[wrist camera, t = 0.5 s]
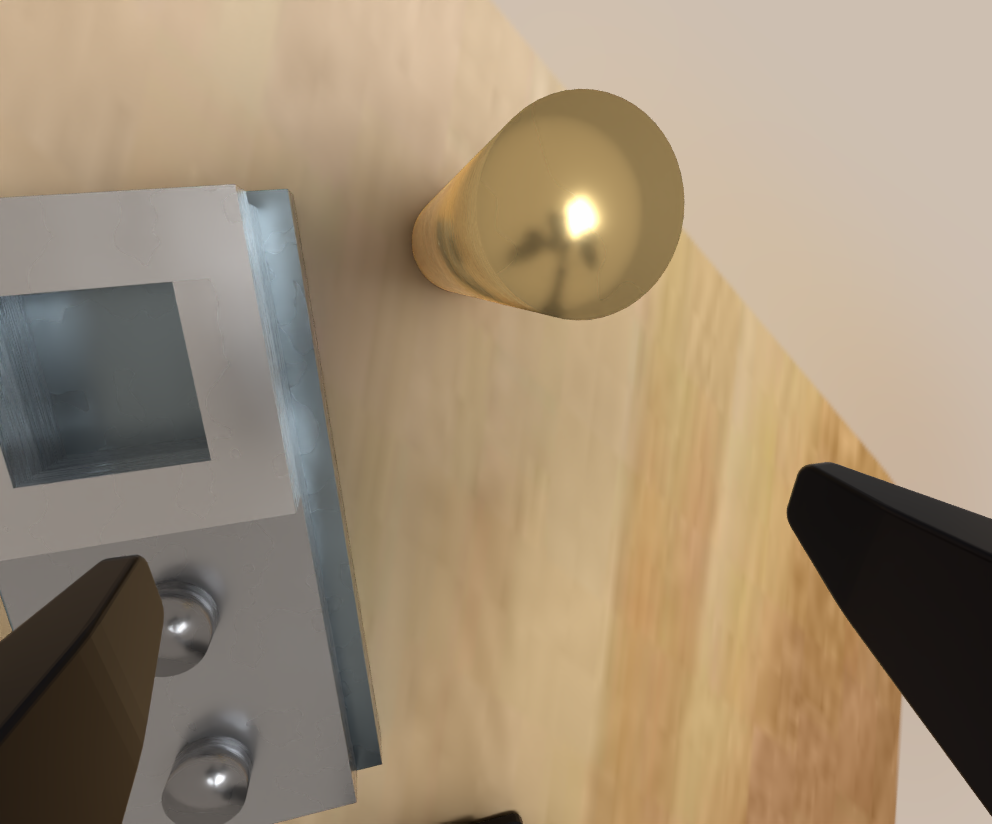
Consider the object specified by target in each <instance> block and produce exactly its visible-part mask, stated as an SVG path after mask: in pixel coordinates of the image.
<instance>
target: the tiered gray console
mask: <svg viewBox="0 0 992 824" xmlns="http://www.w3.org/2000/svg"><path fill="white" fill-rule="evenodd" d="M128 555H140V556H142V557H144V558H145V560H146V561H147V563H148V565H149V568H150V570H151V573H152V576H153V578H154V581H155V584H156V586H157V589H158V592H159V594H160V597H161V600H162V603H163V608H164V623H163V630H162V636H161V642H160V648H159V654H158V661H157V667H156V673H155V679H154V685H153V692H152V698H151V704H150V710H149V716H148V723H147V728H146V734H145V739H144V744H143V749H142V753H141V757H140V761H139V765H138V769H137V772H136V776H135V779H134V783H133V786H132V790H131V793H130V797H129V801H128V804H127V808H126V811H125V815H124V818H123V822H122V824H274V823H278V822H282V821H286V820H290V819H294V818H298V817H301V816H305V815H309V814H313V813H317V812H321V811H325V810H329V809H333V808H337V807H341V806H344V805H348V804H352V803H356V802H357V770H360V769H364V768H368V767H373V766H377V765H381V764H382V753H381V734H380V728H379V722H378V716H377V709H376V703H375V697H374V691H373V685H372V679H371V672H370V666H369V660H368V654H367V648H366V642H365V635H364V629H363V623H362V617H361V611H360V605H359V598H358V592H357V586H356V580H355V574H354V568H353V561H352V555H351V549H350V543H349V537H348V531H347V524H346V518H345V512H344V506H343V500H342V494H341V487H340V481H339V475H338V469H337V463H336V457H335V450H334V444H333V438H332V432H331V426H330V420H329V413H328V407H327V401H326V395H325V389H324V383H323V376H322V370H321V364H320V358H319V352H318V346H317V339H316V333H315V327H314V321H313V315H312V309H311V302H310V296H309V290H308V284H307V278H306V272H305V265H304V259H303V253H302V247H301V241H300V235H299V228H298V222H297V216H296V210H295V204H294V197H293V194H292V193H291V192H290V191H289V190H288V189H278V190H261V191H244V190H243V189H241V188H240V187H238V186H237V185H235V184H231V185H213V186H196V187H179V188H162V189H144V190H127V191H110V192H93V193H75V194H58V195H41V196H23V197H6V198H0V595H1V598H2V601H3V604H4V607H5V610H6V613H7V616H8V619H9V622H10V625H11V628H12V631H14V630H15V629H16V628H17V627H19V626H20V625H21V624H22V623H24V622H25V621H26V620H27V619H29V618H30V617H31V616H32V615H34V614H35V613H36V612H37V611H39V610H40V609H41V608H42V607H44V606H45V605H46V604H47V603H49V602H50V601H51V600H52V599H54V598H55V597H56V596H57V595H59V594H60V593H61V592H62V591H63V590H65V589H66V588H67V587H68V586H70V585H71V584H72V583H73V582H75V581H76V580H77V579H78V578H80V577H81V576H82V575H83V574H85V573H86V572H87V571H88V570H90V569H91V568H92V567H93V566H95V565H96V564H97V563H99V562H100V561H102V560H104V559H107V558H113V557H121V556H128Z"/></svg>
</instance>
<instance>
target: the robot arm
mask: <svg viewBox="0 0 992 824" xmlns="http://www.w3.org/2000/svg"><path fill="white" fill-rule="evenodd" d="M787 519H788V522H789V524H790V526H791V528H792V530H793V531H794V533H795V535H796V536H797V538H798V540H799V541H800V543H801V545H802V546H803V548H804V550H805V551H806V553H807V555H808V556H809V558H810V560H811V561H812V563H813V565H814V566H815V568H816V570H817V571H818V573H819V575H820V576H821V578H822V580H823V581H824V583H825V585H826V586H827V588H828V590H829V591H830V593H831V595H832V596H833V598H834V600H835V601H836V603H837V604H838V606H839V607H840V609H841V611H842V612H843V614H844V615H845V616H846V618H847V619H848V621H849V622H850V624H851V625H852V626H853V628H854V629H855V631H856V632H857V633H858V635H859V636H860V637H861V639H862V640H863V642H864V643H865V644H866V646H867V647H868V648H869V650H870V651H871V652H872V654H873V655H874V657H875V658H876V659H877V661H878V662H879V663H880V665H881V666H882V667H883V669H884V670H885V672H886V673H887V674H888V676H889V677H890V678H891V680H892V681H893V682H894V684H895V685H896V687H897V688H898V689H899V691H900V692H901V693H902V695H903V696H904V698H905V699H906V700H907V702H908V703H909V704H910V706H911V707H912V708H913V710H914V711H915V713H916V714H917V715H918V717H919V718H920V719H921V721H922V722H923V723H924V725H925V726H926V728H927V729H928V730H929V732H930V733H931V734H932V736H933V737H934V738H935V740H936V741H937V743H938V744H939V745H940V746H941V748H942V749H943V751H944V752H945V753H946V755H947V756H948V758H949V759H950V760H951V762H952V763H953V764H954V766H955V767H956V768H957V770H958V771H959V772H960V774H961V775H962V777H963V778H964V779H965V781H966V782H967V783H968V785H969V786H970V787H971V789H972V790H973V792H974V793H975V794H976V796H977V797H978V799H979V800H980V801H981V802H982V804H983V805H984V807H985V808H986V809H987V811H988V812H989V814H990V815H991V816H992V519H991V518H987V517H985V516H982V515H979V514H976V513H974V512H971V511H968V510H965V509H962V508H959V507H957V506H954V505H951V504H948V503H945V502H942V501H940V500H937V499H934V498H931V497H928V496H926V495H923V494H920V493H917V492H914V491H911V490H908V489H906V488H903V487H900V486H897V485H894V484H892V483H889V482H886V481H883V480H880V479H877V478H875V477H872V476H869V475H866V474H863V473H861V472H858V471H855V470H852V469H849V468H846V467H844V466H841V465H838V464H835V463H831V462H824V463H816V464H809V465H806V466H804V467H802V468H801V469H800V471H799V472H798V474H797V478H796V481H795V484H794V487H793V490H792V493H791V497H790V500H789V503H788V506H787ZM163 623H164V608H163V603H162V600H161V597H160V594H159V592H158V589H157V586H156V584H155V581H154V578H153V576H152V573H151V570H150V568H149V565H148V563H147V561H146V560H145V558H144V557H142V556H140V555H128V556H121V557H113V558H107V559H104V560H102V561H100V562H99V563H97V564H96V565H95V566H93V567H92V568H91V569H90V570H88V571H87V572H86V573H85V574H83V575H82V576H81V577H80V578H78V579H77V580H76V581H75V582H73V583H72V584H71V585H70V586H68V587H67V588H66V589H65V590H63V591H62V592H61V593H60V594H59V595H57V596H56V597H55V598H54V599H52V600H51V601H50V602H49V603H47V604H46V605H45V606H44V607H42V608H41V609H40V610H39V611H37V612H36V613H35V614H34V615H32V616H31V617H30V618H29V619H27V620H26V621H25V622H24V623H22V624H21V625H20V626H19V627H17V628H16V629H15V630H14V631H12V632H11V633H10V634H9V635H7V636H6V637H5V638H4V639H3V640H1V641H0V824H122V822H123V818H124V815H125V811H126V808H127V804H128V801H129V797H130V793H131V790H132V786H133V783H134V779H135V776H136V772H137V769H138V765H139V761H140V757H141V753H142V749H143V744H144V739H145V734H146V728H147V723H148V716H149V710H150V704H151V698H152V692H153V685H154V679H155V673H156V667H157V661H158V654H159V648H160V642H161V636H162V630H163ZM476 824H523V822H522V819H521V817H520V816H519V815H518V814H509V815H506V816H502V817H498V818H495V819H491V820H487V821H484V822H480V823H476Z"/></svg>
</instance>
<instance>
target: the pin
mask: <svg viewBox="0 0 992 824" xmlns="http://www.w3.org/2000/svg"><path fill="white" fill-rule="evenodd" d="M683 217H684V189H683V183H682V177H681V172H680V169H679V165H678V162H677V159H676V157H675V154H674V152H673V150H672V147H671V145H670V144H669V142H668V141H667V139H666V137H665V135H664V134H663V132H662V131H661V130H660V129H659V127H658V126H657V125H656V123H655V122H654V121H653V120H652V119H651V118H650V117H649V116H648V115H647V114H646V113H644V112H643V111H642V110H640V109H639V108H638V107H637V106H635V105H634V104H632V103H630V102H628V101H627V100H625V99H623V98H621V97H618V96H616V95H613V94H610V93H608V92H603V91H598V90H589V89H574V90H565V91H561V92H557V93H554V94H550V95H548V96H546V97H543V98H541V99H539V100H537V101H535V102H534V103H532V104H530V105H529V106H527V107H526V108H524V109H523V110H522V111H521V112H519V113H518V114H517V115H516V116H515V117H513V118H512V119H511V120H510V121H509V122H508V123H507V124H506V125H505V127H504V128H503V129H502V130H501V131H500V132H499V133H498V134H497V135H496V136H495V137H494V138H493V139H492V140H491V141H490V142H489V143H488V144H487V145H486V146H485V147H484V148H483V149H482V150H481V151H480V152H479V153H478V154H477V155H476V156H475V157H474V158H473V159H472V160H471V161H470V162H469V163H468V164H467V165H466V166H465V167H464V168H463V169H462V170H461V171H460V172H459V173H458V174H457V175H456V176H455V177H454V178H453V179H452V180H451V181H450V182H449V183H448V184H447V185H446V186H445V187H444V188H443V189H442V190H441V191H440V192H439V193H438V194H437V195H436V196H435V197H434V198H433V199H432V200H431V201H430V202H429V203H428V204H427V205H426V206H425V208H424V209H423V210H422V211H421V213H420V214H419V216H418V218H417V220H416V222H415V225H414V228H413V232H412V250H413V255H414V258H415V261H416V263H417V265H418V267H419V269H420V270H421V272H422V273H423V275H424V276H425V277H426V278H427V279H428V280H429V281H430V282H432V283H433V284H434V285H436V286H438V287H439V288H441V289H444V290H446V291H450V292H454V293H459V294H463V295H467V296H471V297H475V298H479V299H483V300H487V301H491V302H496V303H500V304H504V305H508V306H512V307H516V308H520V309H524V310H529V311H533V312H537V313H541V314H545V315H549V316H553V317H557V318H562V319H569V320H590V319H596V318H601V317H605V316H608V315H611V314H614V313H616V312H618V311H620V310H622V309H625V308H627V307H628V306H630V305H631V304H633V303H634V302H636V301H637V300H638V299H640V298H641V297H642V296H643V295H644V294H646V293H647V292H648V291H649V290H650V289H651V288H652V286H653V285H654V284H655V283H656V282H657V281H658V279H659V278H660V277H661V275H662V274H663V273H664V271H665V270H666V268H667V266H668V264H669V262H670V261H671V259H672V257H673V254H674V252H675V249H676V247H677V244H678V241H679V237H680V234H681V229H682V223H683Z"/></svg>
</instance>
